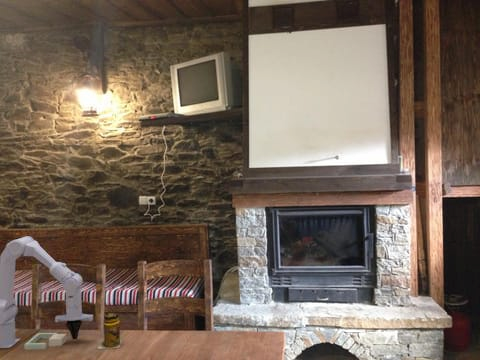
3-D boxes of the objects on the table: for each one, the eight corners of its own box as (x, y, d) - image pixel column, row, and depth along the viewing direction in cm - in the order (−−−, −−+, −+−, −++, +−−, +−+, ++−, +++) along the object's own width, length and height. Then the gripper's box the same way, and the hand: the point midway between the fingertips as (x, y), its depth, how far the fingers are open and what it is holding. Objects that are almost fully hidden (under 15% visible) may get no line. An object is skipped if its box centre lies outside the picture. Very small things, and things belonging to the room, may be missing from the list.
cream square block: (48, 346, 163) (48, 339, 163) (54, 341, 168) (53, 334, 168) (61, 346, 163) (61, 338, 163) (66, 341, 168) (66, 333, 168)
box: (24, 349, 160) (24, 344, 160) (38, 337, 171) (38, 333, 171) (45, 349, 160) (45, 344, 160) (57, 337, 171) (57, 332, 171)
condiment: (119, 347, 160) (118, 317, 159) (97, 349, 159) (96, 318, 158) (122, 340, 167) (121, 310, 167) (100, 341, 166) (99, 312, 165)
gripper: (95, 301, 169) (96, 333, 170) (60, 302, 169) (61, 334, 170) (89, 307, 162) (90, 341, 163) (52, 308, 162) (53, 342, 162)
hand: (75, 338), depth 166 cm, fingers closed
